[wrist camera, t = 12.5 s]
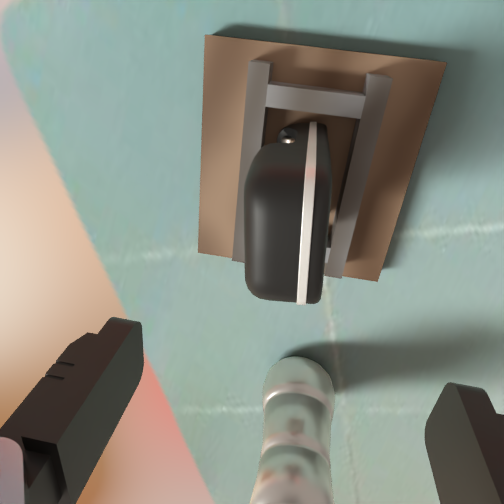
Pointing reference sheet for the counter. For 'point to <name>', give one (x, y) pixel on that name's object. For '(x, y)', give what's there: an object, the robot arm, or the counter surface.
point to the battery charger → (288, 215)
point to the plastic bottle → (296, 435)
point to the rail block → (339, 136)
